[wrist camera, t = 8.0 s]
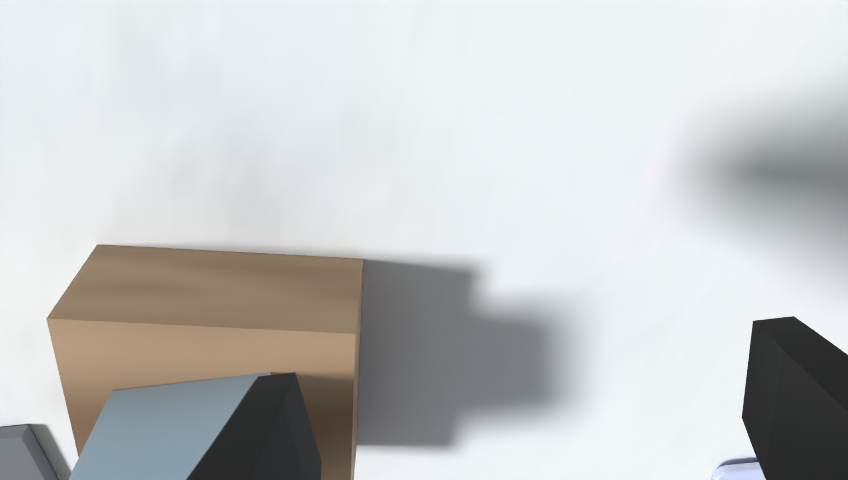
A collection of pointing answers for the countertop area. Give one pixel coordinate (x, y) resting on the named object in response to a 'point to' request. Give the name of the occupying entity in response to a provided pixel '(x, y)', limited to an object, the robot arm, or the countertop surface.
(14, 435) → the card
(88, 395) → the base block
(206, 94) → the countertop surface
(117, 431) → the slate block
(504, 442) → the countertop surface
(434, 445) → the countertop surface
